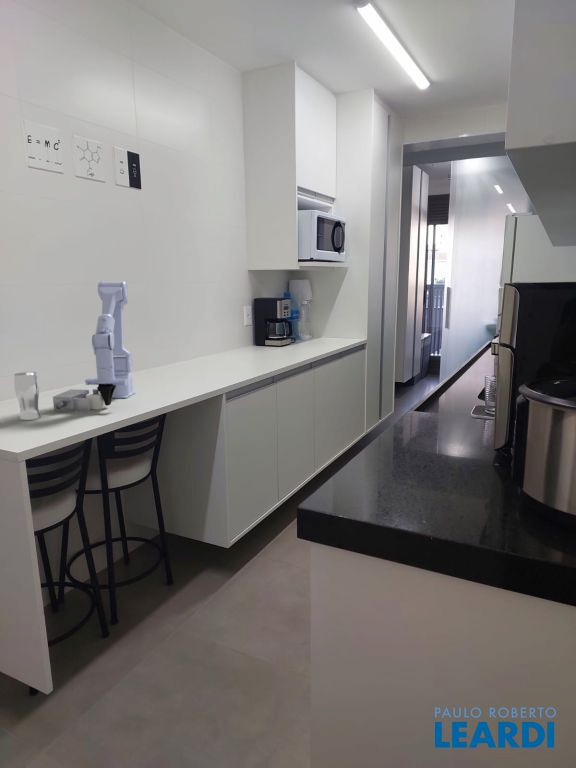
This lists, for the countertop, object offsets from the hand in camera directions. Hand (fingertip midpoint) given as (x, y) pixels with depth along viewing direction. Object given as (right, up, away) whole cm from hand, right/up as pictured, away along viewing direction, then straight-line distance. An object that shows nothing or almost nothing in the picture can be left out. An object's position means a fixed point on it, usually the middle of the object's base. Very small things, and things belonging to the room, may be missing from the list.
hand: (108, 404), depth 180 cm
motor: (-11, -1, 0) cm, 11 cm away
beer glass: (-21, -4, -13) cm, 25 cm away
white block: (-4, -1, +1) cm, 4 cm away
